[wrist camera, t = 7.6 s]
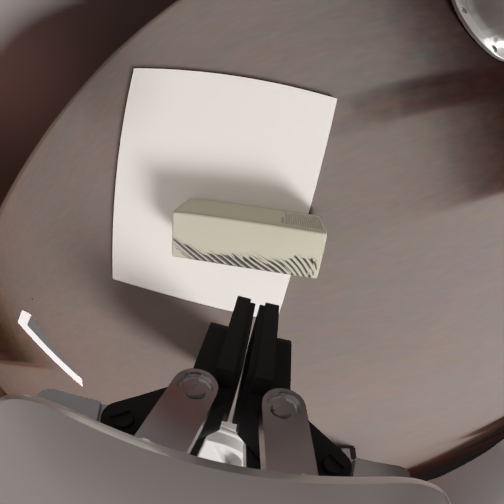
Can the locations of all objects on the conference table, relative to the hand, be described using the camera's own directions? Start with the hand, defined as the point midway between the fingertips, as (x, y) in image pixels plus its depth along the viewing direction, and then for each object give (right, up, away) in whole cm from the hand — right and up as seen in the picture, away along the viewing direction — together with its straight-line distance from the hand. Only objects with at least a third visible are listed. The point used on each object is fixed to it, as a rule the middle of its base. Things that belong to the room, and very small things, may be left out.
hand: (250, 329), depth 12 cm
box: (+6, +4, +14) cm, 16 cm away
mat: (-4, +9, +17) cm, 19 cm away
